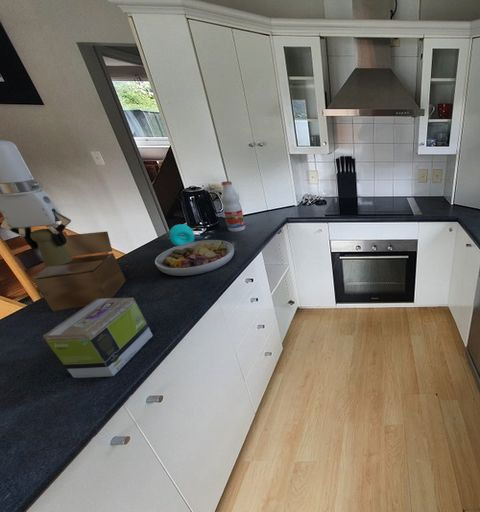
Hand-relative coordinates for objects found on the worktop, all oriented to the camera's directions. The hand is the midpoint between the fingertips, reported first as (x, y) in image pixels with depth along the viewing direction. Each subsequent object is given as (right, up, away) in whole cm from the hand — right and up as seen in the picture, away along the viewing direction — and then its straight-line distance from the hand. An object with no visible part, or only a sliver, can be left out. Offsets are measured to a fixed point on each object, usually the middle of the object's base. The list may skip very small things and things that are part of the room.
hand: (49, 245), depth 85 cm
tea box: (+30, -31, -9) cm, 44 cm away
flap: (-7, +1, +16) cm, 18 cm away
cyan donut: (0, +3, +58) cm, 58 cm away
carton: (-4, -18, +16) cm, 24 cm away
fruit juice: (+16, +13, +79) cm, 82 cm away
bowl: (+19, -7, +41) cm, 45 cm away
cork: (0, -5, +3) cm, 6 cm away
